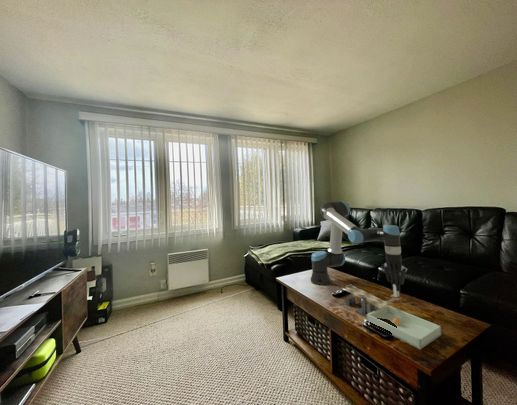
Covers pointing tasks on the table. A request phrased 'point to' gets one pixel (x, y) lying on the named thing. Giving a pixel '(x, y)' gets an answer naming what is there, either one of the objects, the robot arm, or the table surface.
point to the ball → (396, 321)
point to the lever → (371, 297)
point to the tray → (406, 326)
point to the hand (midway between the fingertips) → (396, 296)
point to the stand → (365, 308)
